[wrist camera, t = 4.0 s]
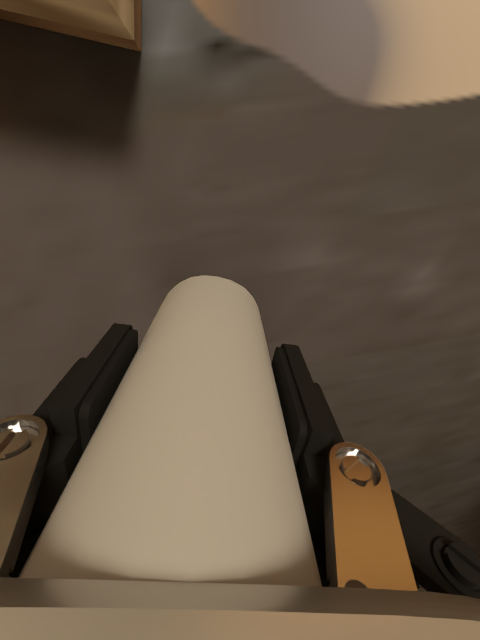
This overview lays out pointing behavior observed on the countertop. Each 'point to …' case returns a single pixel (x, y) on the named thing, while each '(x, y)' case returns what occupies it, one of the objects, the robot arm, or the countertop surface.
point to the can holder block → (81, 18)
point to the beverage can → (187, 461)
